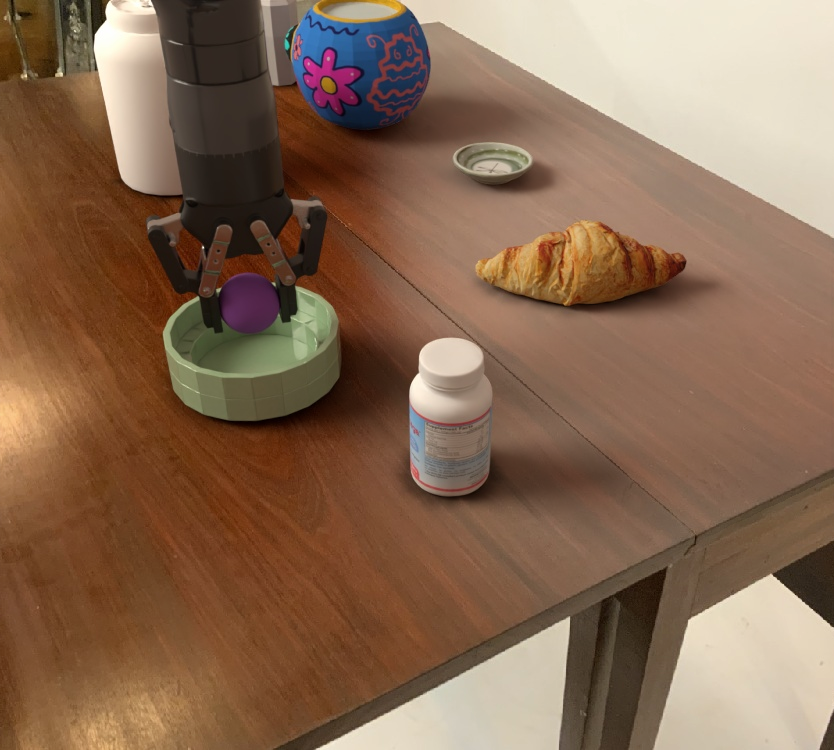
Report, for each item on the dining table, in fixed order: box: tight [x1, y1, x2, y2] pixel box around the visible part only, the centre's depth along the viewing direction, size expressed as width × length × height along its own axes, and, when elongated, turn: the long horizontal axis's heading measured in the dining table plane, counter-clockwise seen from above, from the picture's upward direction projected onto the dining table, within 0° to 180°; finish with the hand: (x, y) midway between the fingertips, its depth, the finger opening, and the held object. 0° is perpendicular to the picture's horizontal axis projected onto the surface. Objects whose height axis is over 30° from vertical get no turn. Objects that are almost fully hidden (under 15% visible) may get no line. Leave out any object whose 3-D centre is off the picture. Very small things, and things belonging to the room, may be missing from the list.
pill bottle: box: [408, 337, 494, 497], centre depth 72 cm, size 6×6×11 cm
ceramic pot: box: [285, 0, 432, 131], centre depth 125 cm, size 18×18×15 cm
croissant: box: [474, 219, 687, 307], centre depth 97 cm, size 21×10×8 cm, turn 96°
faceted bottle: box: [261, 0, 299, 87], centre depth 134 cm, size 6×6×22 cm
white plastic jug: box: [93, 0, 183, 196], centre depth 109 cm, size 12×12×20 cm
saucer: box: [452, 141, 534, 185], centre depth 117 cm, size 10×10×2 cm
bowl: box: [162, 281, 343, 422], centre depth 83 cm, size 14×14×5 cm
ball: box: [218, 272, 280, 334], centre depth 80 cm, size 5×5×5 cm
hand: (251, 322), depth 81 cm, fingers closed on ball, 5 cm apart
